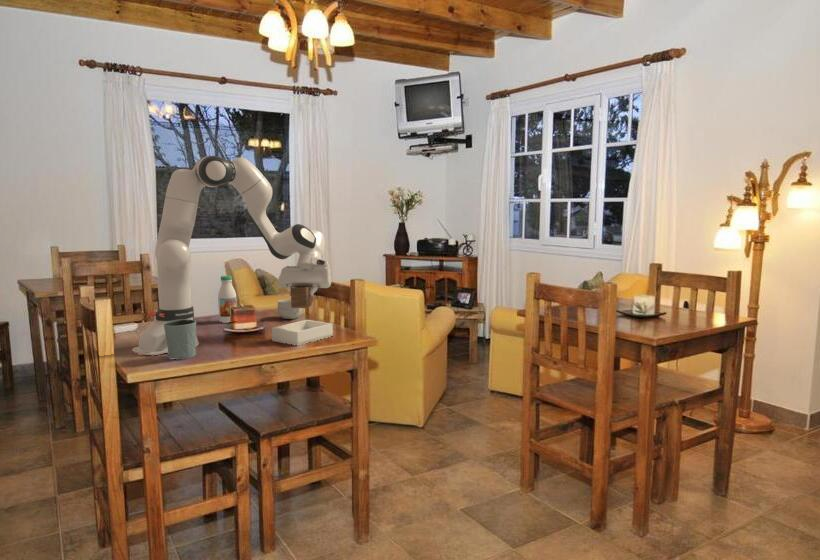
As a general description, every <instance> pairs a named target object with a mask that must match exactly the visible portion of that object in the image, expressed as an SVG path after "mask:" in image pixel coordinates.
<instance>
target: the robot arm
mask: <svg viewBox="0 0 820 560" xmlns="http://www.w3.org/2000/svg"><path fill="white" fill-rule="evenodd" d="M226 184H229V185H231V186H232V187H234V188H235V189H236V191H237V192H238V193H239V194H240V196H241V197H242V198H243V201H244V202H245V204H246V213H247V215H248V216H249V218H250V220H251V221H252V223H253V225H254V226H255V228H256V229H257V231H258V232H259V233H260V235H261V237H262V239H264V242H265V243H266V245H267V247H268V250H269V252H270V253H271V255H272V256H274V257H275V258H276V259H279V260H286V259H288V258H289V257H291V256H292V255H294V254H296V253H297V254H299V255H298V259H297V260H298V261H297V264H296V265H291V266H289V265H287V266H285V267H282V269H281V271H280V274H279V276H278V279H277V282H278V285H279V286H280V288H283V289H284V288H285V289H286V288H288V289H289V293H288V295H289V297H291V288H292V287H294V286H311V290H309V293H308V295H309V296H312V297H314V294H315V293H316V292H317V291H318V289H328V288H330V287H331V286H332V275H331V274H332V270H331V266H330V264H329V262H328V261H327V260H324V259H322V257H323V256H324V252H325V247H326V246H325V245H326V240H325V239H326V238H325V235H324V234H323V233H322V232H321V231H319V230H317V229H309V228H308V227H306V226H305V225H303V224H300V223H296V224H295V225H292V226H290V227H288V228H287V229H284V230H283V231H281V232H278V231H277V230H276V228H275V227H274V225H273V223H272V222H271V221H270V219H269V217H268V215H267V212H266V211H267V207H268V206H269V204H270V203H271V201H272V198H273V186H271V183H270V182H269V180H268V179H267V178H266V176H264V175H263V173H262V172H261V171H260V170H259V169H258V168H257V167H256V166H255V165H254V164H253V163H252V162H251V161H250V160H248V159H247V158H246V157H236V158H234V159H232V160H228V159H225V158H224V157H221V156H217V155H207V156H204V157H202V158H200V159H199V160H198V161H197V162H195V164H194V166H192V168H191V169H187V168H181V169H179V168H178V169H176V170H175V171H173V172H172V174H171V177H170V178H169V181H168V185H167V188H166V192H165V198H164V203H163V210H162V215H161V221H160V224H159V230H158V234H157V240H156V244H155V249H154V255H155V258H156V263H157V264H156V267H157V269H156V271H157V293H158V305H159V306H158V307H159V308H158V309H157V310H156V311H155V310H150V311H148V315H149V317H155V318H154V320H153V322H151V323H150V324H149V325H148V326H147V327H146V328H145V329H144V330H143V331H142V332H141V333H140V335H139V338H138V339H139V340H138V346H136V347H133V348H132V350H131V352H132V351H134V352H136V353H141V354H150V355H151V354H152V355H154V354H161V353H167V352H168V346H167V340H166V335H165V329H164V323H166V322H168V321H173V320H180V319H191V320H195V311H194V306H193V299H192V259H191V257H192V256H191V255H192V254H191V250H190V248H189V247H190V242H191V239H192V235H193V231H194V227H195V224H196V218H197V213H198V206H199V200H200V196H201V195H200V194H201V193H202V190H203V188H218V187H220V186H223V185H226ZM195 343H196V347H198V346H199V344H200V342H199V339H198V337H197V335H196V342H195Z"/></svg>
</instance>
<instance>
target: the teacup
mask: <svg viewBox="0 0 820 560" xmlns="http://www.w3.org/2000/svg"><path fill="white" fill-rule="evenodd" d="M302 310H303V308H291V299H279V300H277V314H278V315H279V316H280V317H281V318H282V319H284V320H286V319H287V320H292V319H293V320H294V319H298V318H299V317H300V316H301V315H302V313H303V311H302Z"/></svg>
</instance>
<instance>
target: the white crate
mask: <svg viewBox="0 0 820 560" xmlns="http://www.w3.org/2000/svg"><path fill="white" fill-rule="evenodd" d="M333 326H334V325H333V323H331V322H326V321H325V322H323V321H319V320H318V321H317V320H312V319H304V320H299V321H297V322H291V323H287V324H282V325H277V326H273V327H271V340H272V342H277V343H282V344H286V343H287V345H291V344H292V346H296V345H297V347H299V346H302V344H303V345H306V343H307V344H310V343H309V342H311V343H315V342H317V340H318V341H321V340H320V339H322V340H325V339H328V337H329V338H332V337H331V336H333V337H334V329H333V328H334V327H333ZM324 338H325V339H324ZM298 345H299V346H298Z"/></svg>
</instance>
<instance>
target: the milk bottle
mask: <svg viewBox="0 0 820 560" xmlns="http://www.w3.org/2000/svg"><path fill="white" fill-rule="evenodd" d="M232 279H233V277H232V275H222V276H220V282H221V286H220V288H219V291H218V294H217V303H218V304H217V306H218V320H219V323H221V322H222V324H228V323H229V322H230V311H231V308H232V307H237V308H238V301H237V292H236V289H235V288H234V286H233V283H232V282H233V280H232Z"/></svg>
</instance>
